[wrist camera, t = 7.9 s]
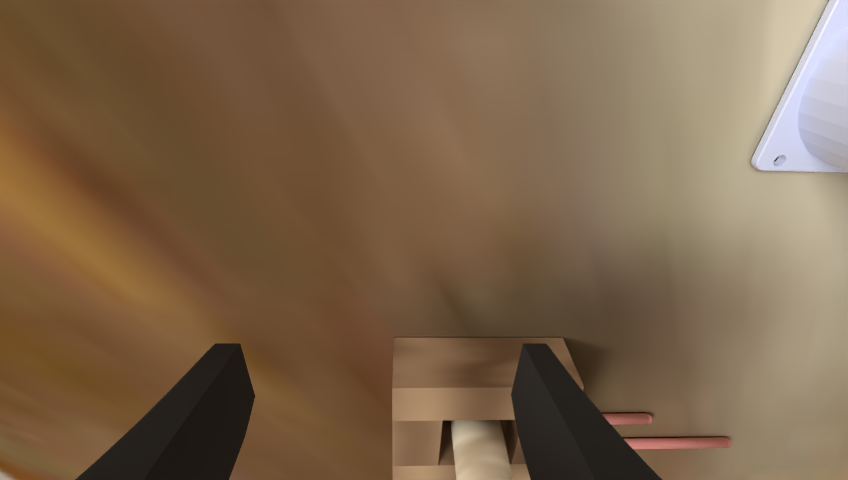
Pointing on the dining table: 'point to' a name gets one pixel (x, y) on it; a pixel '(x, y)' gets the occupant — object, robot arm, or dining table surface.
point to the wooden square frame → (455, 398)
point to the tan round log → (480, 450)
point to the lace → (662, 442)
